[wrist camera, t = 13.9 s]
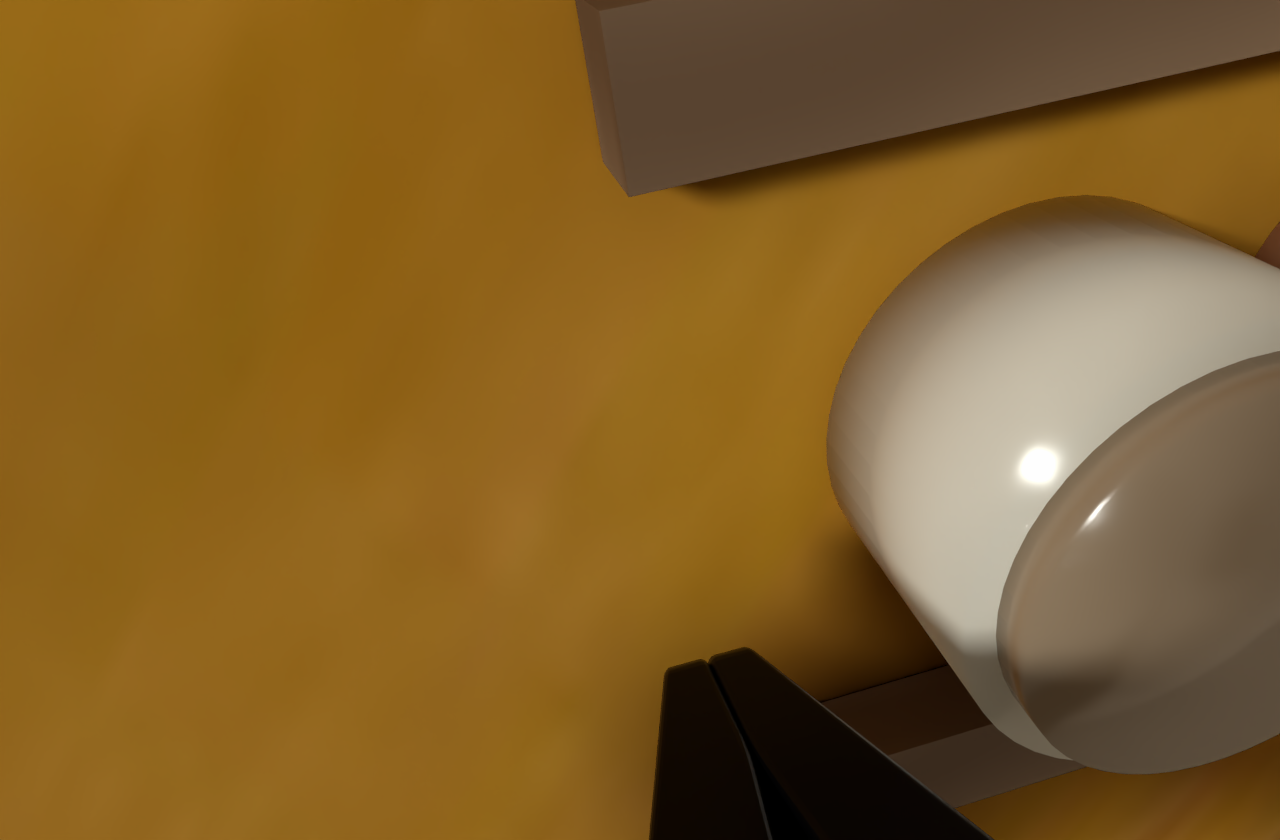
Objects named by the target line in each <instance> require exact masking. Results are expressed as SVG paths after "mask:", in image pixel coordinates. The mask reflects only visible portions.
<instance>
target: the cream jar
mask: <svg viewBox="0 0 1280 840" xmlns="http://www.w3.org/2000/svg"><path fill="white" fill-rule="evenodd" d="M826 441H827V465H828V470H829V475H830V481H831V486H832V488H833V491H834V494H835V497H836V499H837V502H838V505H839V507H840V508H841V510H842V512H843V514H844V515H845V517H846V519H847V520H848V522H849V524H850V525H851V527H852V528H853V529H854V531H855V532H856V534H857V535H858V536H859V538H860V539H861V541H862V542H863V544H864V545H865V546H866V548H867V549H868V551H869V552H870V553H871V555H872V556H873V558H874V559H875V560H876V562H877V563H878V565H879V566H880V568H881V569H882V570H883V572H884V573H885V575H886V576H887V577H888V579H889V580H890V582H891V583H892V585H893V586H894V587H895V589H896V590H897V592H898V593H899V594H900V596H901V597H902V599H903V600H904V601H905V603H906V604H907V606H908V607H909V609H910V610H911V611H912V613H913V614H914V616H915V617H916V618H917V620H918V621H919V623H920V624H921V625H922V627H923V628H924V630H925V631H926V633H927V634H928V635H929V637H930V638H931V640H932V641H933V642H934V644H935V645H936V647H937V648H938V650H939V651H940V652H941V654H942V655H943V657H944V658H945V659H946V661H947V662H948V664H949V665H950V666H951V668H952V669H953V671H954V672H955V674H956V675H957V676H958V678H959V679H960V681H961V682H962V683H963V685H964V686H965V688H966V689H967V690H968V692H969V693H970V695H971V696H972V698H973V699H974V700H975V702H976V703H977V705H978V706H979V707H980V709H981V710H982V712H983V713H984V714H985V715H986V716H987V718H988V719H989V720H990V721H991V722H992V723H993V724H994V726H995V727H996V728H997V729H998V730H1000V731H1001V732H1002V733H1004V734H1005V735H1006V736H1008V737H1009V738H1010V739H1012V740H1013V741H1014V742H1016V743H1018V744H1020V745H1022V746H1024V747H1026V748H1028V749H1030V750H1032V751H1034V752H1038V753H1041V754H1045V755H1048V756H1051V757H1055V758H1060V759H1067V760H1074V761H1076V762H1078V763H1080V764H1082V765H1085V766H1088V767H1091V768H1095V769H1098V770H1102V771H1106V772H1114V773H1121V774H1154V773H1163V772H1173V771H1177V770H1182V769H1187V768H1192V767H1197V766H1200V765H1203V764H1207V763H1210V762H1213V761H1217V760H1220V759H1223V758H1226V757H1228V756H1231V755H1234V754H1236V753H1239V752H1241V751H1244V750H1246V749H1249V748H1251V747H1253V746H1255V745H1257V744H1259V743H1261V742H1264V741H1266V740H1268V739H1270V738H1272V737H1274V736H1276V735H1278V734H1279V733H1280V269H1279V268H1277V267H1274V266H1272V265H1270V264H1268V263H1266V262H1264V261H1262V260H1259V259H1257V258H1255V257H1253V256H1251V255H1249V254H1247V253H1244V252H1242V251H1240V250H1238V249H1236V248H1234V247H1231V246H1229V245H1227V244H1225V243H1223V242H1221V241H1219V240H1216V239H1214V238H1212V237H1210V236H1208V235H1206V234H1204V233H1201V232H1199V231H1197V230H1195V229H1193V228H1191V227H1188V226H1186V225H1184V224H1182V223H1180V222H1178V221H1176V220H1173V219H1171V218H1169V217H1167V216H1165V215H1163V214H1161V213H1158V212H1156V211H1154V210H1152V209H1149V208H1147V207H1145V206H1142V205H1140V204H1138V203H1135V202H1131V201H1127V200H1122V199H1118V198H1114V197H1105V196H1091V195H1081V196H1068V197H1057V198H1052V199H1048V200H1043V201H1038V202H1034V203H1029V204H1026V205H1024V206H1021V207H1018V208H1015V209H1012V210H1009V211H1006V212H1003V213H1001V214H999V215H997V216H994V217H992V218H990V219H988V220H986V221H984V222H982V223H980V224H978V225H976V226H974V227H972V228H970V229H969V230H967V231H966V232H964V233H962V234H961V235H959V236H958V237H956V238H954V239H953V240H951V241H950V242H948V243H946V244H945V245H944V246H942V247H941V248H940V249H939V250H937V251H936V252H935V253H934V254H932V255H931V256H930V257H928V258H927V259H926V260H925V261H923V262H922V263H921V264H920V265H919V266H918V267H917V268H916V269H915V270H913V271H912V272H911V273H910V274H909V275H908V276H907V277H906V278H905V279H904V280H903V281H902V282H901V283H900V284H899V285H898V286H897V287H896V288H895V289H894V291H893V292H892V293H891V294H890V295H889V297H888V298H887V299H886V300H885V301H884V303H883V304H882V305H881V306H880V307H879V309H878V310H877V311H876V313H875V314H874V315H873V317H872V318H871V320H870V321H869V323H868V324H867V326H866V327H865V329H864V330H863V332H862V333H861V335H860V336H859V338H858V340H857V342H856V344H855V346H854V348H853V350H852V352H851V354H850V355H849V357H848V359H847V361H846V363H845V366H844V369H843V371H842V374H841V376H840V379H839V382H838V384H837V387H836V390H835V394H834V398H833V402H832V406H831V410H830V414H829V422H828V431H827V440H826Z"/></svg>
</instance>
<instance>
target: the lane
mask: <svg viewBox="0 0 1280 840" xmlns="http://www.w3.org/2000/svg"><path fill="white" fill-rule="evenodd" d="M575 1H576V6H577V12H578V18H579V24H580V30H581V36H582V41H583V47H584V53H585V59H586V65H587V71H588V77H589V82H590V88H591V94H592V100H593V106H594V112H595V117H596V123H597V129H598V135H599V141H600V147H601V152H602V158H603V162H604V164H605V165H606V166H607V168H608V169H609V170H610V172H611V173H612V175H613V176H614V177H615V179H616V180H617V181H618V183H619V184H620V185H621V187H622V188H623V189H624V191H625V192H626V194H627V195H628V196H629V197H632V196H636V195H640V194H645V193H649V192H654V191H658V190H663V189H667V188H672V187H676V186H680V185H685V184H689V183H694V182H698V181H703V180H707V179H712V178H716V177H720V176H725V175H729V174H734V173H738V172H743V171H747V170H752V169H756V168H760V167H765V166H769V165H774V164H778V163H783V162H787V161H792V160H796V159H801V158H805V157H809V156H814V155H818V154H823V153H827V152H832V151H836V150H841V149H845V148H849V147H854V146H858V145H863V144H867V143H872V142H876V141H881V140H885V139H889V138H894V137H898V136H903V135H907V134H912V133H916V132H921V131H925V130H929V129H934V128H938V127H943V126H947V125H952V124H956V123H961V122H965V121H970V120H974V119H978V118H983V117H987V116H992V115H996V114H1001V113H1005V112H1010V111H1014V110H1018V109H1023V108H1027V107H1032V106H1036V105H1041V104H1045V103H1050V102H1054V101H1058V100H1063V99H1067V98H1072V97H1076V96H1081V95H1085V94H1090V93H1094V92H1098V91H1103V90H1107V89H1112V88H1116V87H1121V86H1125V85H1130V84H1134V83H1138V82H1143V81H1147V80H1152V79H1156V78H1161V77H1165V76H1170V75H1174V74H1179V73H1183V72H1187V71H1192V70H1196V69H1201V68H1205V67H1210V66H1214V65H1219V64H1223V63H1227V62H1232V61H1236V60H1241V59H1245V58H1250V57H1254V56H1259V55H1263V54H1267V53H1272V52H1276V51H1280V0H575ZM821 704H822V705H824V706H825V707H826V708H828V709H829V710H830V711H831V712H833V713H834V714H835V715H836V716H838V717H839V718H840V719H842V720H843V721H844V722H845V723H847V724H848V725H849V726H850V727H852V728H853V729H854V730H855V731H857V732H858V733H859V734H861V735H862V736H863V737H864V738H866V739H867V740H868V741H869V742H871V743H872V744H873V745H875V746H876V747H877V748H878V749H880V750H881V751H882V752H883V753H885V754H886V755H887V756H889V757H890V758H891V759H892V760H894V761H895V762H896V763H897V764H899V765H900V766H901V767H903V768H904V769H905V770H906V771H908V772H909V773H910V774H911V775H913V776H914V777H915V778H916V779H918V780H919V781H920V782H922V783H923V784H924V785H925V786H927V787H928V788H929V789H930V790H932V791H933V792H934V793H936V794H937V795H938V796H939V797H941V798H942V799H943V800H944V801H946V802H947V803H948V804H950V805H951V806H952V807H953V808H957V807H960V806H963V805H966V804H969V803H973V802H976V801H979V800H982V799H985V798H989V797H992V796H995V795H998V794H1001V793H1005V792H1008V791H1011V790H1014V789H1017V788H1020V787H1024V786H1027V785H1030V784H1033V783H1036V782H1040V781H1043V780H1046V779H1049V778H1052V777H1056V776H1059V775H1062V774H1065V773H1068V772H1072V771H1075V770H1078V769H1081V768H1084V767H1088V766H1085V765H1082V764H1080V763H1078V762H1076V761H1074V760H1067V759H1060V758H1055V757H1051V756H1048V755H1045V754H1041V753H1038V752H1034V751H1032V750H1030V749H1028V748H1026V747H1024V746H1022V745H1020V744H1018V743H1016V742H1014V741H1013V740H1012V739H1010V738H1009V737H1008V736H1006V735H1005V734H1004V733H1002V732H1001V731H1000V730H998V729H997V728H996V727H995V726H994V724H993V723H992V722H991V721H990V720H989V719H988V718H987V716H986V715H985V714H984V713H983V712H982V710H981V709H980V707H979V706H978V705H977V703H976V702H975V700H974V699H973V698H972V696H971V695H970V693H969V692H968V690H967V689H966V688H965V686H964V685H963V683H962V682H961V681H960V679H959V678H958V676H957V675H956V674H955V672H954V671H953V669H952V668H951V666H950V665H948V666H944V667H941V668H938V669H934V670H931V671H928V672H924V673H921V674H917V675H914V676H911V677H907V678H904V679H900V680H897V681H894V682H890V683H887V684H883V685H880V686H877V687H873V688H870V689H866V690H863V691H860V692H856V693H853V694H849V695H846V696H843V697H839V698H836V699H832V700H829V701H826V702H822V703H821Z"/></svg>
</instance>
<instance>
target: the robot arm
mask: <svg viewBox="0 0 1280 840" xmlns="http://www.w3.org/2000/svg"><path fill="white" fill-rule="evenodd" d="M649 840H994V839H993V838H991V837H990V836H989V835H988V834H986V833H985V832H984V831H983V830H981V829H980V828H979V827H977V826H976V825H975V824H974V823H972V822H971V821H970V820H969V819H967V818H966V817H965V816H964V815H962V814H961V813H960V812H958V811H957V810H956V809H955V808H953V807H952V806H951V805H950V804H948V803H947V802H946V801H944V800H943V799H942V798H941V797H939V796H938V795H937V794H936V793H934V792H933V791H932V790H930V789H929V788H928V787H927V786H925V785H924V784H923V783H922V782H920V781H919V780H918V779H916V778H915V777H914V776H913V775H911V774H910V773H909V772H908V771H906V770H905V769H904V768H903V767H901V766H900V765H899V764H897V763H896V762H895V761H894V760H892V759H891V758H890V757H889V756H887V755H886V754H885V753H883V752H882V751H881V750H880V749H878V748H877V747H876V746H875V745H873V744H872V743H871V742H869V741H868V740H867V739H866V738H864V737H863V736H862V735H861V734H859V733H858V732H857V731H855V730H854V729H853V728H852V727H850V726H849V725H848V724H847V723H845V722H844V721H843V720H842V719H840V718H839V717H838V716H836V715H835V714H834V713H833V712H831V711H830V710H829V709H828V708H826V707H825V706H824V705H822V704H821V703H820V702H819V701H817V700H816V699H815V698H814V697H812V696H811V695H810V694H808V693H807V692H806V691H805V690H803V689H802V688H801V687H800V686H798V685H797V684H796V683H794V682H793V681H792V680H791V679H789V678H788V677H787V676H786V675H784V674H783V673H782V672H781V671H779V670H778V669H777V668H775V667H774V666H773V665H772V664H770V663H769V662H768V661H767V660H765V659H764V658H763V657H761V656H760V655H759V654H758V653H756V652H755V651H754V650H752V649H750V648H747V647H742V648H738V649H735V650H731V651H728V652H724V653H720V654H717V655H714V656H712V657H711V658H710V659H709V661H708V663H707V662H706V661H705V660H702V659H699V660H695V661H691V662H688V663H684V664H681V665H677V666H673V667H670V668H668V669H667V670H666V672H665V674H664V682H663V693H662V704H661V715H660V726H659V737H658V747H657V758H656V769H655V780H654V791H653V802H652V813H651V823H650V834H649Z"/></svg>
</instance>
